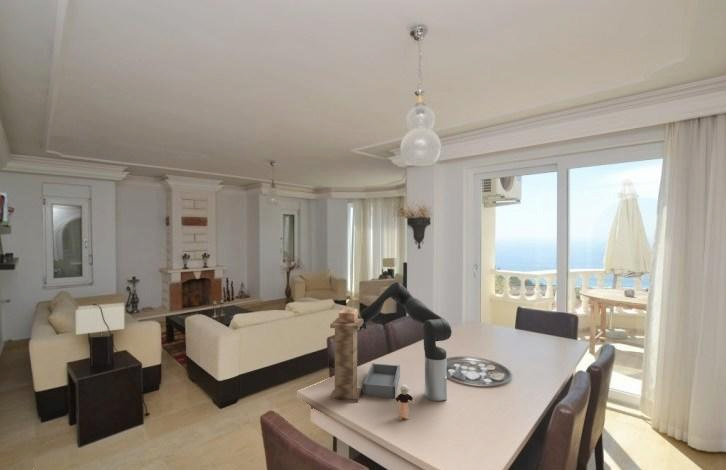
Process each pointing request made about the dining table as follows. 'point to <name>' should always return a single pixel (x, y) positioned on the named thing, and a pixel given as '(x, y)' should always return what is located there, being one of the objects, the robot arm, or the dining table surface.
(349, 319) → the mallet
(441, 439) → the dining table surface
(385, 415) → the dining table surface
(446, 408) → the dining table surface
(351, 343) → the brown tall square column
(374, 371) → the tote
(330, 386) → the dining table surface
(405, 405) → the grandmother figurine
